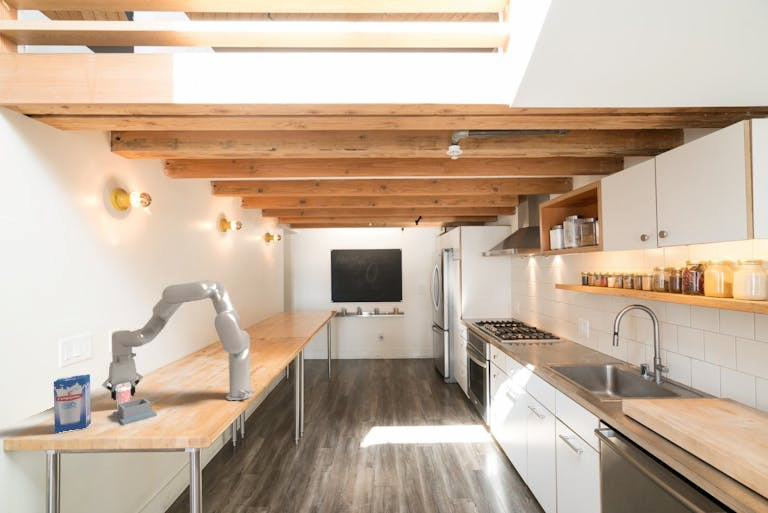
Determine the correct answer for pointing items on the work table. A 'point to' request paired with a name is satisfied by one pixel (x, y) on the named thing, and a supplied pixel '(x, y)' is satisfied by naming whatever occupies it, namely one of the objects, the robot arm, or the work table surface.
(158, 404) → the work table surface
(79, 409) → the blue white food package
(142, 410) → the grey cup holder
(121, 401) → the beverage cup
